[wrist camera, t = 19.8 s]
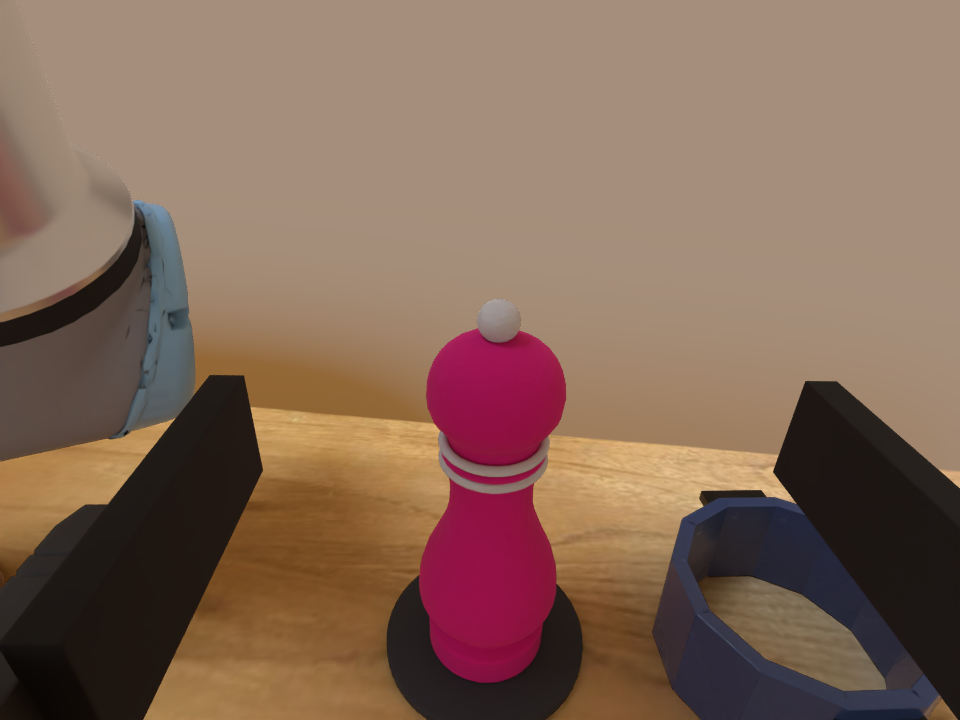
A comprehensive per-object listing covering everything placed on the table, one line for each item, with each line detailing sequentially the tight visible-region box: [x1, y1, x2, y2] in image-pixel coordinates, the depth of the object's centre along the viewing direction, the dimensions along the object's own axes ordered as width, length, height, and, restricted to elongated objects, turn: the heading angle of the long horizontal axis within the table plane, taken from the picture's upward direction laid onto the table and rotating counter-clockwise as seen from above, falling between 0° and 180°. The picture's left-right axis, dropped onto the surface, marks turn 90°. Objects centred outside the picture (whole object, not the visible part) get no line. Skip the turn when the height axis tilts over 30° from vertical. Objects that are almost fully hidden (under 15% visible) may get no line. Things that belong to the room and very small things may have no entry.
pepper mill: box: [419, 299, 566, 683], centre depth 27 cm, size 7×7×20 cm
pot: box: [652, 490, 941, 720], centre depth 30 cm, size 13×16×6 cm
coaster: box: [387, 575, 583, 720], centre depth 32 cm, size 11×11×1 cm
